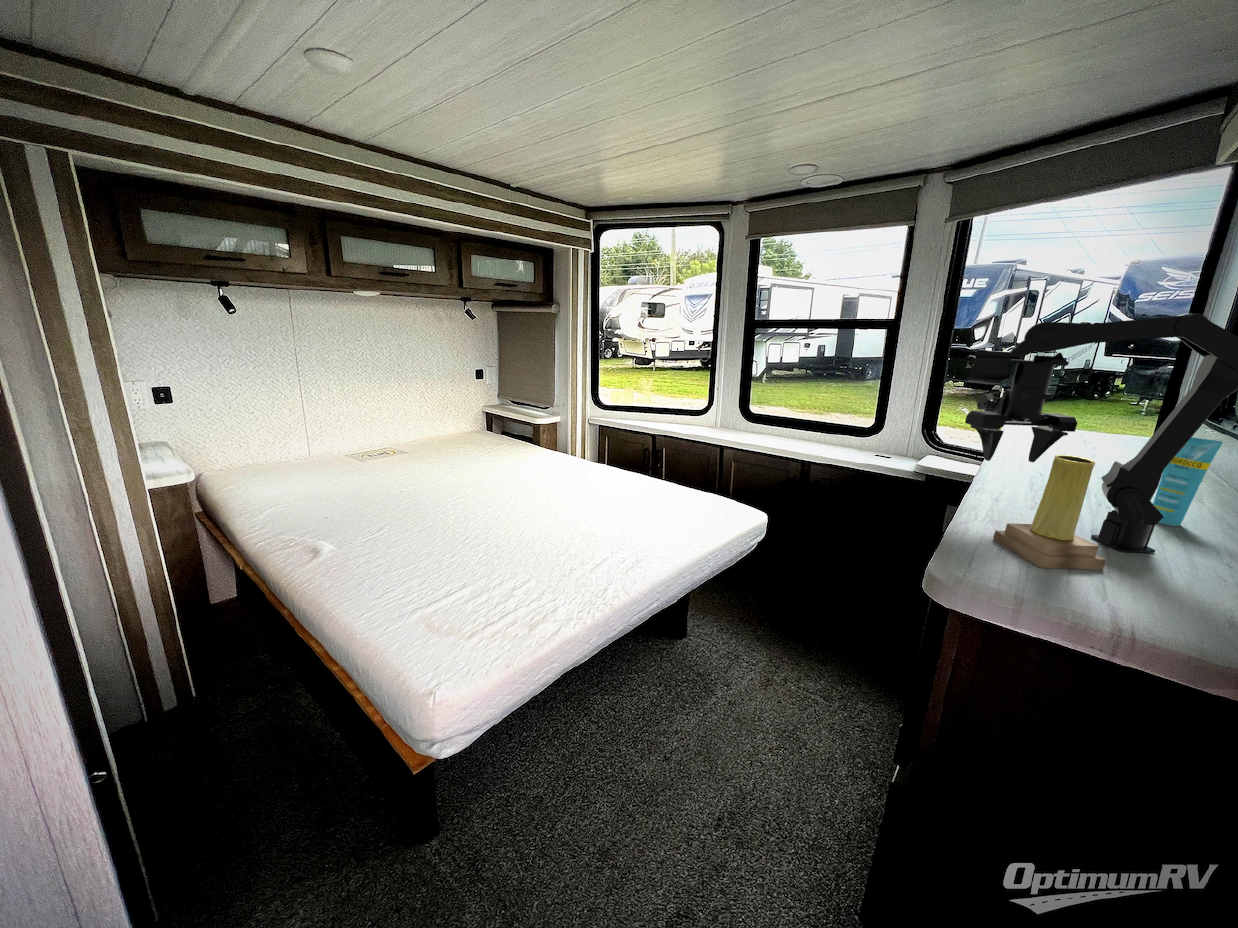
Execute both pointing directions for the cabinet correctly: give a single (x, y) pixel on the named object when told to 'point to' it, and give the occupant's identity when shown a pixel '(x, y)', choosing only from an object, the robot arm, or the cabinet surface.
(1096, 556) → the pedestal
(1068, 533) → the vase
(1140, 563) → the cabinet surface
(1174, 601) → the cabinet surface
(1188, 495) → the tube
